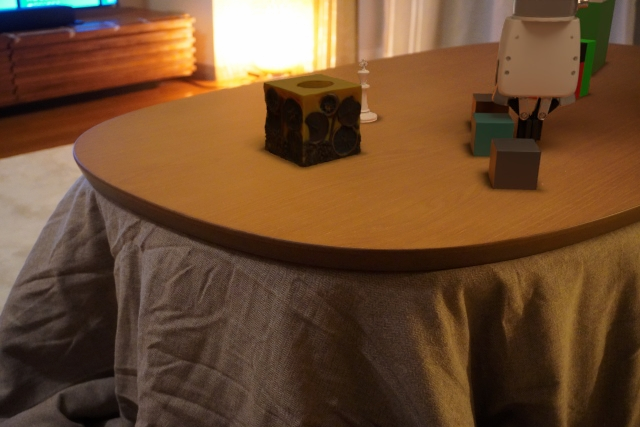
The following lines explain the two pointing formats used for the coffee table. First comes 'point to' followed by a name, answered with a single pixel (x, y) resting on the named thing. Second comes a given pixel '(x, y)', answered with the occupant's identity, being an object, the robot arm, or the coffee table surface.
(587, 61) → the puzzle toy
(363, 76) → the chess piece
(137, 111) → the coffee table surface
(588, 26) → the hardback book
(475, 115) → the teal block
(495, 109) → the walnut block
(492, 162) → the slate block
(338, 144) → the candle
